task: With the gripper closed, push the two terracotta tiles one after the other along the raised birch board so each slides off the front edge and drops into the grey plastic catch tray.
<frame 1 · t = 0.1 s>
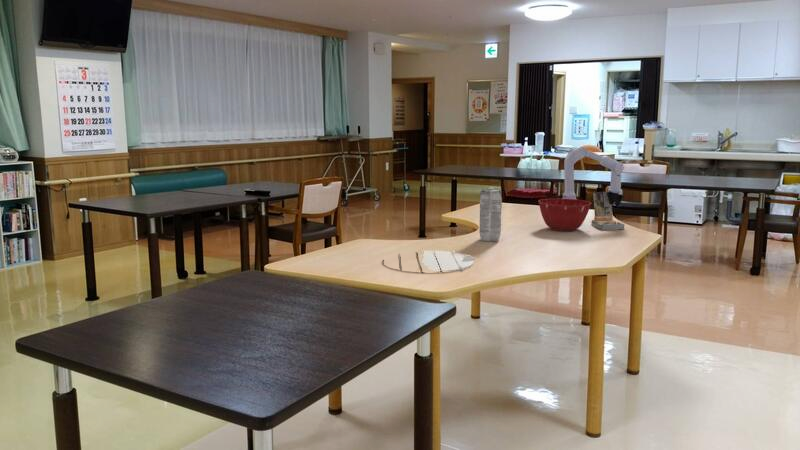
hand: (614, 205, 365), 10 cm above the table, tool pointing down, fingers open, 7 cm apart
coffee box: (603, 219, 374), on the table, touching gripper
board: (603, 226, 354), on the table
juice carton: (490, 240, 316), on the table
mixing bowl: (563, 229, 345), on the table
tile right: (607, 220, 355), point 3 cm above the table, touching board
tile left: (598, 220, 354), point 3 cm above the table, touching board
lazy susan: (429, 263, 269), on the table
tray: (609, 228, 347), on the table
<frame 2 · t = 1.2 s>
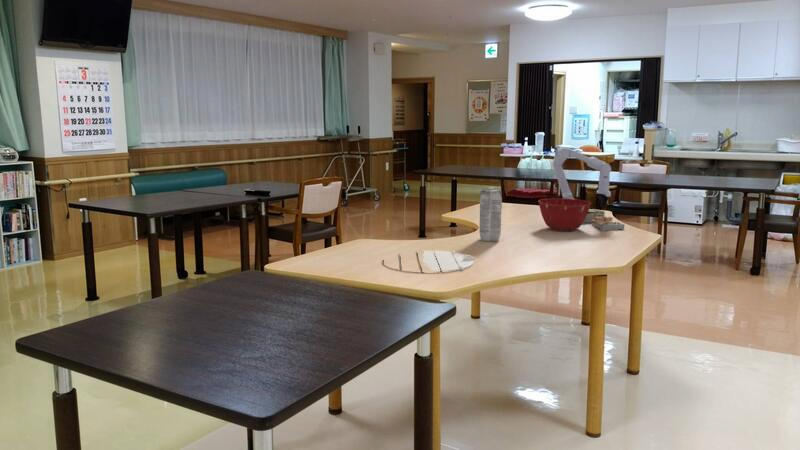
hand: (602, 207, 361), 9 cm above the table, tool pointing down, fingers closed
coffee box: (599, 215, 373), point 3 cm above the table
everything else where it was.
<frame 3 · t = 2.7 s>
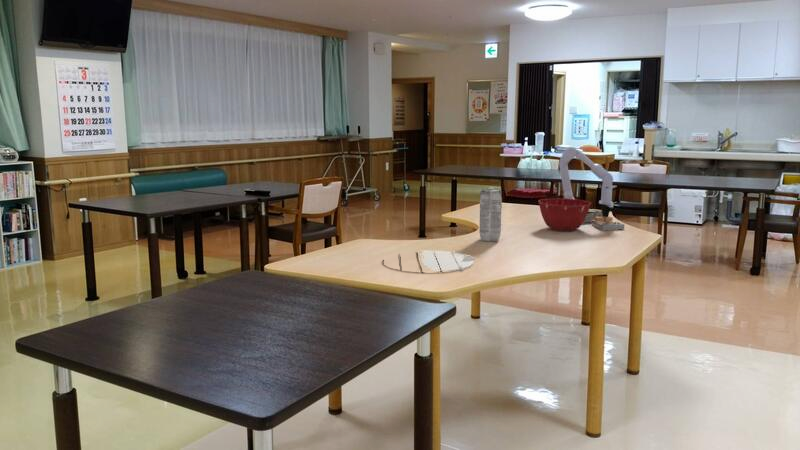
hand: (605, 218, 357), 4 cm above the table, tool pointing down, fingers closed
tile right: (607, 220, 355), point 3 cm above the table, touching board, gripper
everything else where it was.
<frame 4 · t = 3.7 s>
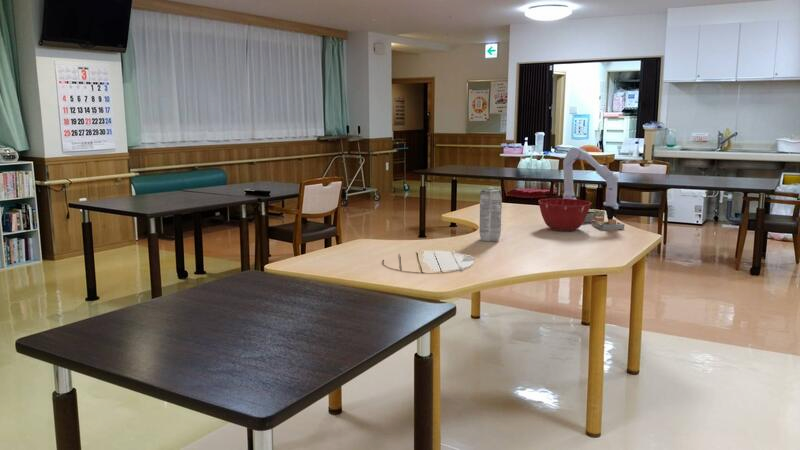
hand: (610, 219, 352), 4 cm above the table, tool pointing down, fingers closed
tile right: (611, 222, 350), point 2 cm above the table, tilted 90°, touching tray
everything else where it was.
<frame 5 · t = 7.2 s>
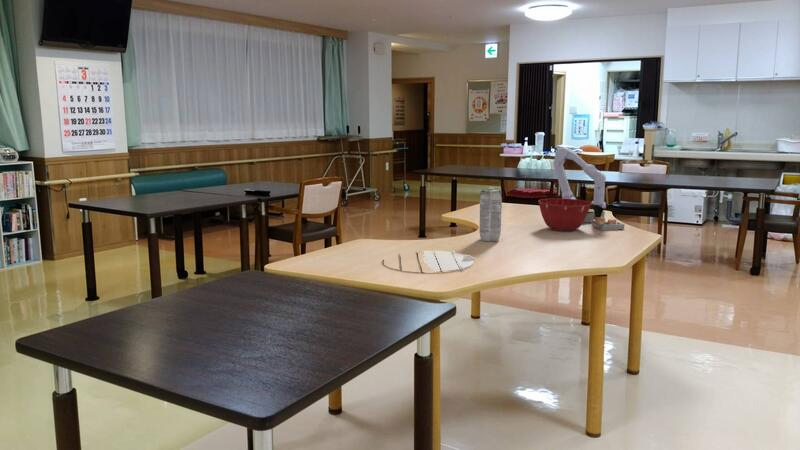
hand: (597, 218, 356), 4 cm above the table, tool pointing down, fingers closed
tile left: (599, 221, 353), point 3 cm above the table, touching board, gripper
everything else where it was.
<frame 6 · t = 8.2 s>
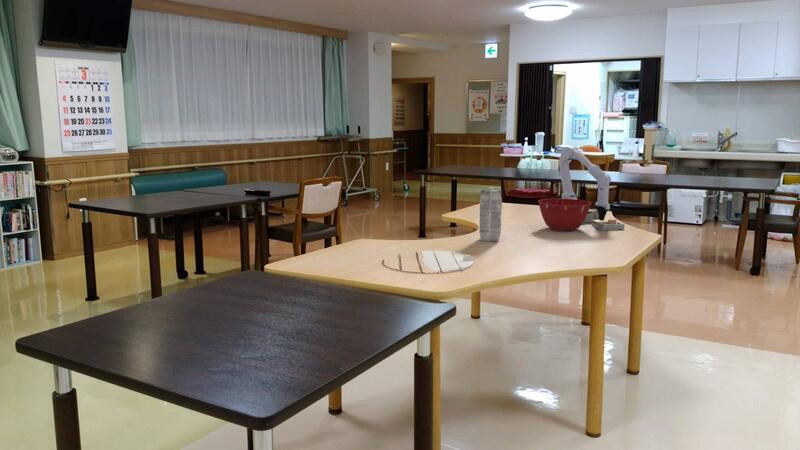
hand: (601, 220, 351), 4 cm above the table, tool pointing down, fingers closed
tile left: (605, 224, 345), point 2 cm above the table, tilted 180°, touching tray
everything else where it was.
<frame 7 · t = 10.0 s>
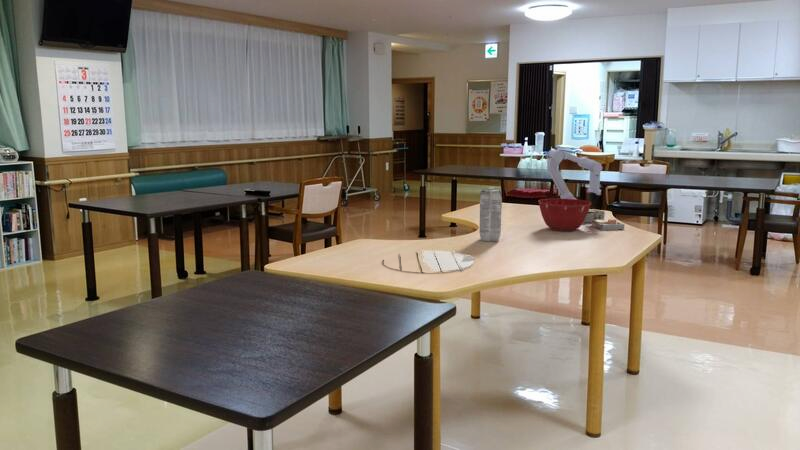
hand: (593, 205, 364), 10 cm above the table, tool pointing down, fingers closed
nothing on the table moved.
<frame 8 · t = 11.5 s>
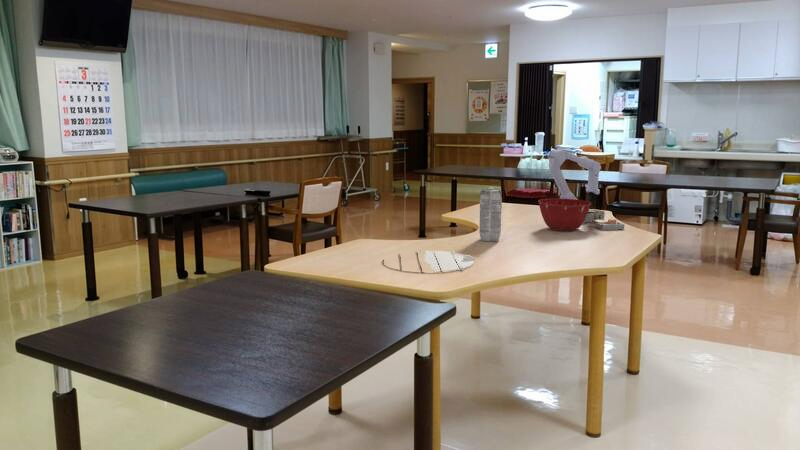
hand: (591, 205, 367), 10 cm above the table, tool pointing down, fingers closed
nothing on the table moved.
at the end: tile right inside the target area (4.5 cm from its centre), point 2.5 cm above the table; tile left inside the target area (2.7 cm from its centre), point 2.5 cm above the table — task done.
